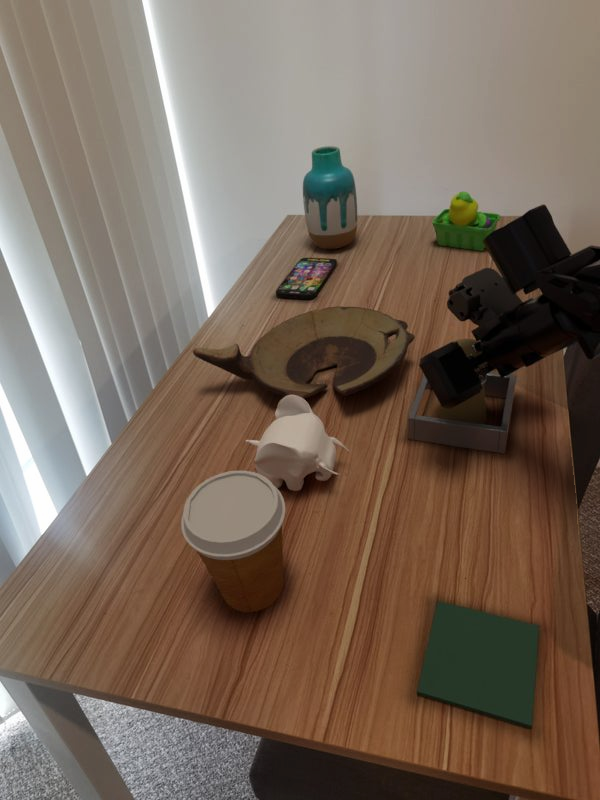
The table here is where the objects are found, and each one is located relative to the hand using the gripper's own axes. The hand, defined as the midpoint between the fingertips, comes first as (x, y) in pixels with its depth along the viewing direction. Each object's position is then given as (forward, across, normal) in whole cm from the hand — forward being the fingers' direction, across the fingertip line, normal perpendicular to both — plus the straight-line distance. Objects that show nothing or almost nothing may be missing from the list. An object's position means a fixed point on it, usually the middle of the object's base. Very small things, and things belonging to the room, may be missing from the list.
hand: (456, 370), depth 74 cm
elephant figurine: (+7, +22, +2) cm, 23 cm away
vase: (+44, -20, -34) cm, 60 cm away
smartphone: (+37, -8, -28) cm, 47 cm away
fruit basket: (+30, -38, -21) cm, 53 cm away
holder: (+4, 0, +6) cm, 7 cm away
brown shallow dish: (+19, +9, -10) cm, 23 cm away
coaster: (-14, +22, +23) cm, 35 cm away
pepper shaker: (+4, 0, +6) cm, 7 cm away
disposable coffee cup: (0, +34, +10) cm, 36 cm away
